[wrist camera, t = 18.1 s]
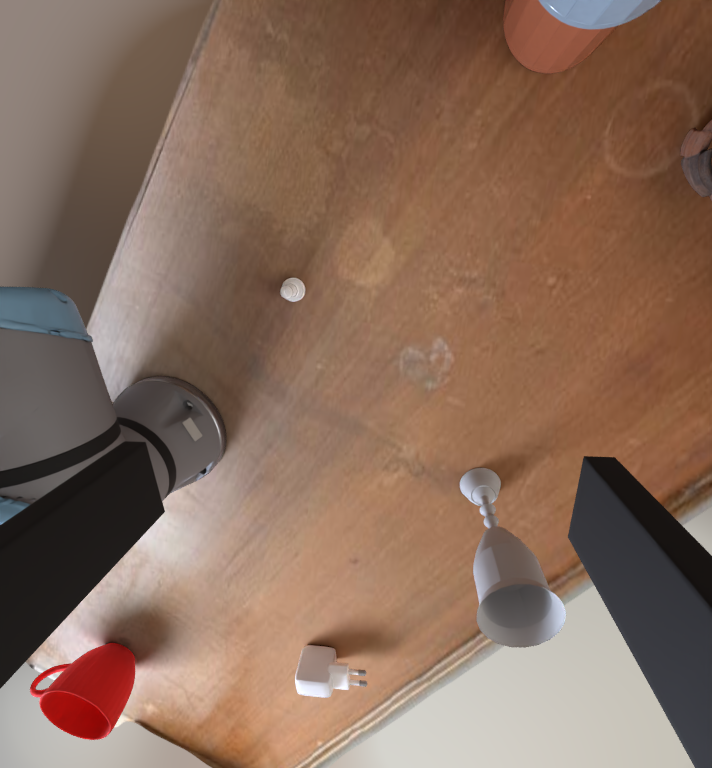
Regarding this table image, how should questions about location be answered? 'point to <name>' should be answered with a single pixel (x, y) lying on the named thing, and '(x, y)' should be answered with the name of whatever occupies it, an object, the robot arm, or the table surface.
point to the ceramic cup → (89, 691)
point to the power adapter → (323, 672)
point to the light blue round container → (597, 11)
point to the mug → (547, 38)
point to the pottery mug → (698, 160)
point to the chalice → (508, 576)
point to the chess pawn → (293, 289)
